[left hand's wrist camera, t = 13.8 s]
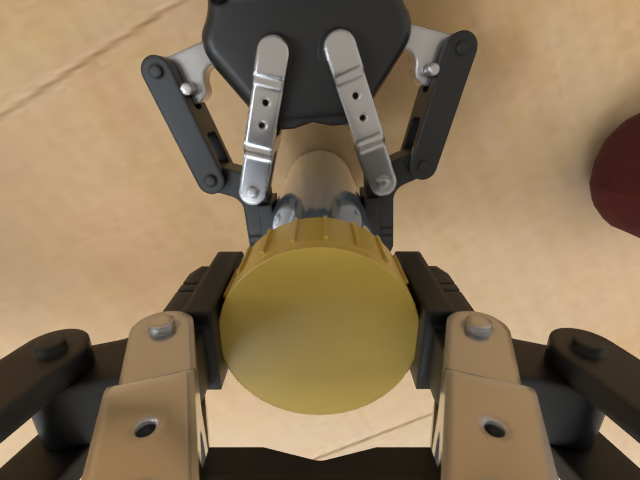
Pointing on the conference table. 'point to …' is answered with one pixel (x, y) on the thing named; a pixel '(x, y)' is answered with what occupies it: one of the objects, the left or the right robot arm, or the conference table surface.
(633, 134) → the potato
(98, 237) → the conference table surface
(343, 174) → the grey tall cylinder
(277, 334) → the lid
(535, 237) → the conference table surface
